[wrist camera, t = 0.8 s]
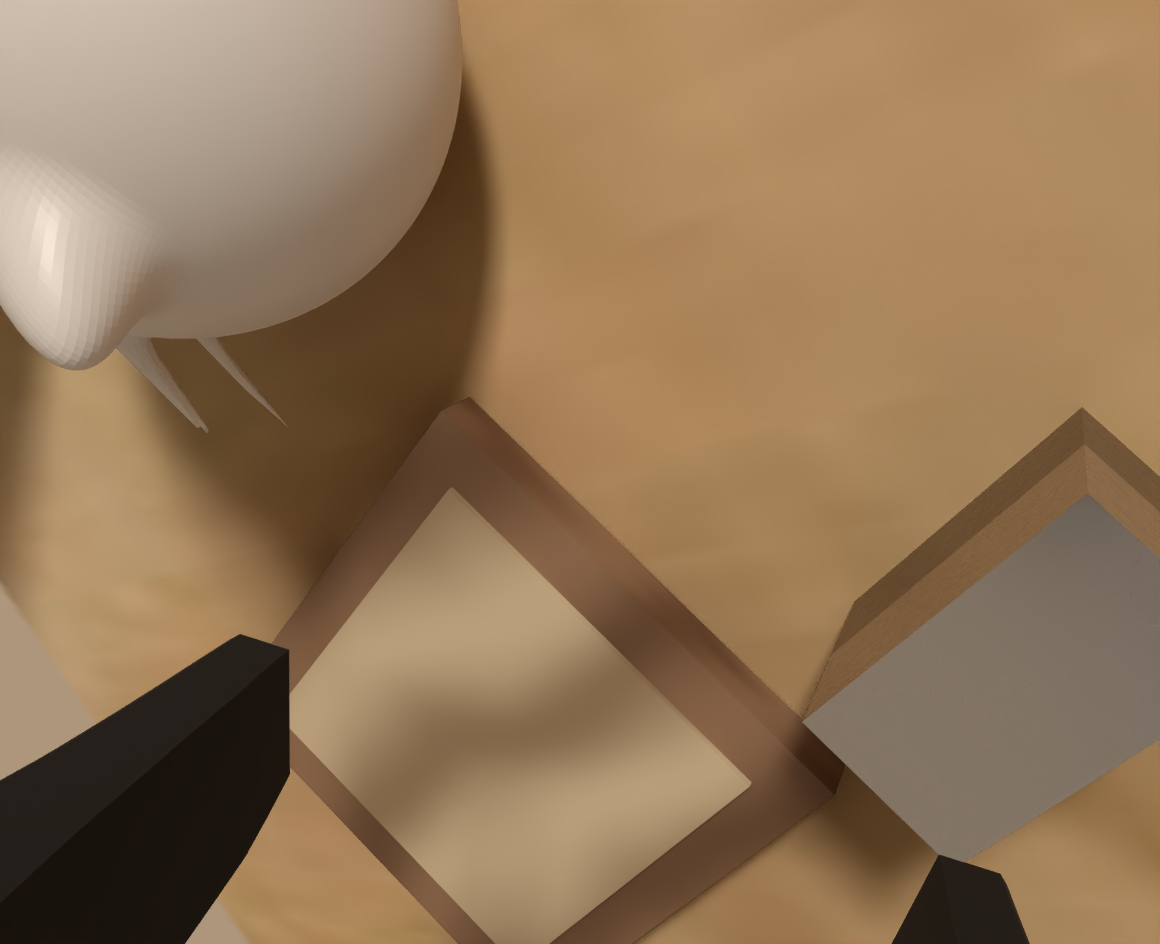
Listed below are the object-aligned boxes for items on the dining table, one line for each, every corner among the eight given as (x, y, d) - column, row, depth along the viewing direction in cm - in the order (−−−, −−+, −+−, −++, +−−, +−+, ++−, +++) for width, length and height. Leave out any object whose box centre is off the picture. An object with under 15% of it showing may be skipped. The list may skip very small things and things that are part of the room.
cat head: (705, 154, 24) (418, 179, 13) (347, 415, 30) (-38, 571, 20) (361, -422, 23) (-231, -882, 13) (70, -28, 30) (-480, -112, 19)
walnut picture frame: (845, 762, 27) (833, 799, 25) (549, 984, 34) (526, 1023, 32) (469, 397, 28) (437, 412, 27) (259, 680, 35) (224, 705, 34)
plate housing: (1226, 535, 22) (1277, 665, 17) (976, 715, 25) (953, 869, 20) (1082, 406, 22) (1087, 493, 17) (854, 600, 26) (801, 722, 20)
